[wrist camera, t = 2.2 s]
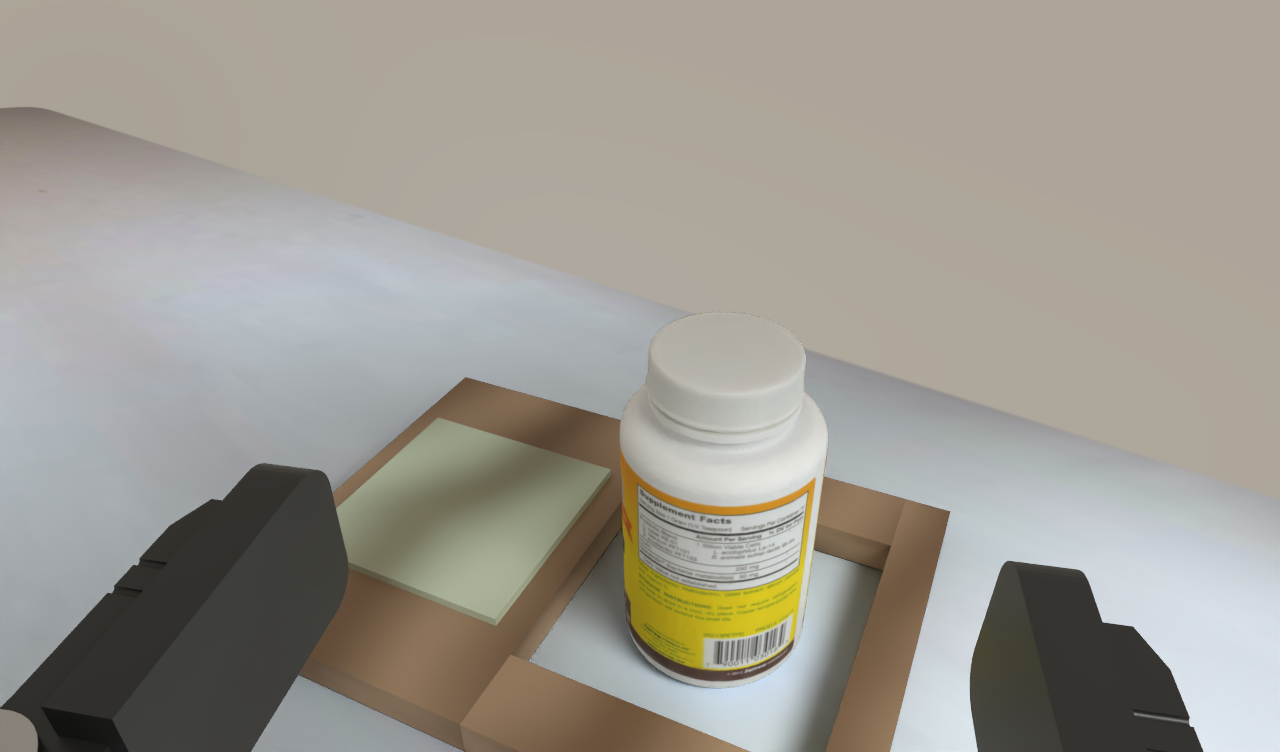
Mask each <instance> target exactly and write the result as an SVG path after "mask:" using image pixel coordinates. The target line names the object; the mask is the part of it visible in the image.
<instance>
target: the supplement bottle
mask: <svg viewBox="0 0 1280 752" xmlns="http://www.w3.org/2000/svg"><path fill="white" fill-rule="evenodd" d="M805 367H806V356H805V351H804V348H803V346H802V344H801V342H800V341H799V339H798V338H797V337H796V336H795V335H794V334H793V333H792V332H790V331H789V330H788V329H786V328H784V327H783V326H781V325H779V324H777V323H775V322H773V321H770V320H767V319H764V318H761V317H758V316H754V315H749V314H743V313H735V312H709V313H701V314H695V315H691V316H687V317H684V318H681V319H678V320H676V321H673V322H671V323H670V324H668V325H667V326H665V327H663V328H662V329H661V330H660V331H658V333H657V334H656V335H655V336H654V338H653V340H652V341H651V344H650V348H649V360H648V374H647V377H646V384H645V385H643V386H642V387H641V388H640V389H639V390H638V391H637V392H636V393H635V394H634V395H633V396H632V397H631V399H630V400H629V402H628V403H627V405H626V407H625V409H624V411H623V414H622V417H621V422H620V469H621V496H622V524H623V551H624V584H625V608H626V619H627V624H628V628H629V632H630V634H631V637H632V639H633V641H634V643H635V644H636V646H637V648H638V649H639V650H640V652H641V653H642V654H643V655H644V657H645V658H646V659H647V660H648V661H649V662H650V663H652V664H653V665H654V666H655V667H656V668H658V669H659V670H661V671H662V672H664V673H665V674H667V675H669V676H671V677H673V678H675V679H677V680H680V681H682V682H685V683H688V684H692V685H695V686H701V687H708V688H731V687H737V686H742V685H746V684H749V683H752V682H755V681H757V680H760V679H762V678H764V677H766V676H767V675H769V674H771V673H772V672H774V671H775V670H776V669H778V668H779V667H780V666H781V665H782V664H783V663H784V662H785V661H786V660H787V659H788V657H789V656H790V655H791V653H792V652H793V650H794V648H795V647H796V645H797V643H798V640H799V638H800V634H801V631H802V626H803V620H804V613H805V608H806V599H807V592H808V585H809V578H810V571H811V564H812V557H813V550H814V542H815V535H816V527H817V520H818V513H819V506H820V499H821V492H822V485H823V479H824V471H825V465H826V458H827V449H828V430H827V425H826V422H825V419H824V416H823V414H822V412H821V410H820V409H819V407H818V405H817V404H816V402H815V401H814V400H813V399H812V398H811V397H810V396H809V395H808V394H807V393H806V392H805V384H804V375H805Z"/></svg>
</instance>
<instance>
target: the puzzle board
mask: <svg viewBox="0 0 1280 752" xmlns="http://www.w3.org/2000/svg"><path fill="white" fill-rule="evenodd" d="M620 422H621V420H618V419H614V418H611V417H607V416H603V415H600V414H596V413H593V412H589V411H585V410H582V409H578V408H575V407H571V406H567V405H564V404H560V403H557V402H553V401H549V400H546V399H542V398H539V397H535V396H531V395H528V394H524V393H521V392H517V391H513V390H510V389H506V388H502V387H499V386H495V385H492V384H488V383H484V382H481V381H477V380H474V379H470V378H464V379H463V380H462V381H461V382H460V383H459V384H457V385H456V386H455V387H454V388H453V389H452V390H451V391H449V392H448V393H447V394H446V395H445V396H444V397H443V398H441V399H440V400H439V401H438V402H437V403H436V404H435V405H433V406H432V407H431V408H430V409H429V410H428V411H426V412H425V413H424V414H423V415H422V416H421V417H420V418H418V419H417V420H416V421H415V422H414V423H413V424H412V425H410V426H409V427H408V428H407V429H406V430H405V431H404V432H402V433H401V434H400V435H399V436H398V437H397V438H395V439H394V440H393V441H392V442H391V443H390V444H389V445H387V446H386V447H385V448H384V449H383V450H382V451H381V452H379V453H378V454H377V455H376V456H375V457H374V458H373V459H371V460H370V461H369V462H368V463H367V464H366V465H365V466H363V467H362V468H361V469H360V470H359V471H358V472H356V473H355V474H354V475H353V476H352V477H351V478H350V479H348V480H347V481H346V482H345V483H344V484H343V485H342V486H340V487H339V488H338V489H337V490H336V491H335V492H334V493H332V494H333V498H334V502H335V507H336V511H337V515H338V519H339V523H340V528H341V532H342V536H343V540H344V544H345V548H346V553H347V557H348V565H349V572H348V581H347V587H346V590H345V594H344V597H343V600H342V602H341V605H340V607H339V609H338V610H337V612H336V614H335V616H334V617H333V619H332V620H331V622H330V624H329V625H328V627H327V629H326V630H325V632H324V633H323V635H322V637H321V638H320V640H319V642H318V643H317V645H316V646H315V648H314V650H313V651H312V653H311V655H310V656H309V658H308V659H307V661H306V663H305V664H304V666H303V668H302V669H301V671H300V672H299V675H301V676H303V677H305V678H307V679H310V680H312V681H314V682H316V683H318V684H320V685H323V686H325V687H327V688H329V689H331V690H333V691H336V692H338V693H340V694H342V695H344V696H346V697H349V698H351V699H353V700H355V701H357V702H359V703H361V704H364V705H366V706H368V707H370V708H372V709H374V710H377V711H379V712H381V713H383V714H385V715H387V716H390V717H392V718H394V719H396V720H398V721H400V722H403V723H405V724H407V725H409V726H411V727H413V728H416V729H418V730H420V731H422V732H424V733H426V734H429V735H431V736H433V737H435V738H437V739H439V740H442V741H444V742H446V743H448V744H450V745H452V746H455V747H457V748H459V749H461V750H463V751H465V752H750V751H747V750H745V749H742V748H740V747H737V746H735V745H732V744H730V743H727V742H725V741H723V740H720V739H718V738H715V737H713V736H710V735H708V734H705V733H703V732H700V731H698V730H695V729H693V728H690V727H688V726H685V725H683V724H681V723H678V722H676V721H673V720H671V719H668V718H666V717H663V716H661V715H658V714H656V713H653V712H651V711H648V710H646V709H644V708H641V707H639V706H636V705H634V704H631V703H629V702H626V701H624V700H621V699H619V698H616V697H614V696H611V695H609V694H607V693H604V692H602V691H599V690H597V689H594V688H592V687H589V686H587V685H584V684H582V683H579V682H577V681H574V680H572V679H569V678H567V677H565V676H562V675H560V674H557V673H555V672H552V671H550V670H547V669H545V668H542V667H540V666H537V665H535V664H532V663H530V662H528V661H529V659H530V658H531V656H532V655H533V654H534V652H535V651H536V649H537V648H538V646H539V645H540V643H541V642H542V641H543V639H544V638H545V636H546V635H547V633H548V632H549V631H550V629H551V628H552V626H553V625H554V623H555V622H556V621H557V619H558V618H559V616H560V615H561V613H562V612H563V611H564V609H565V608H566V606H567V605H568V603H569V602H570V600H571V599H572V598H573V596H574V595H575V593H576V592H577V590H578V589H579V588H580V586H581V585H582V583H583V582H584V580H585V579H586V578H587V576H588V575H589V573H590V572H591V570H592V569H593V568H594V566H595V565H596V563H597V562H598V560H599V559H600V557H601V556H602V555H603V553H604V552H605V550H606V549H607V547H608V546H609V545H610V543H611V542H612V540H613V539H614V537H615V536H616V535H617V533H618V532H619V530H620V529H621V527H622V526H623V524H622V496H621V469H620ZM949 514H950V511H946V510H943V509H939V508H935V507H932V506H928V505H925V504H921V503H917V502H914V501H910V500H907V499H903V498H899V497H896V496H892V495H889V494H885V493H881V492H878V491H874V490H870V489H867V488H863V487H860V486H856V485H852V484H849V483H845V482H842V481H838V480H834V479H831V478H827V477H824V479H823V485H822V492H821V499H820V506H819V513H818V520H817V527H816V535H815V542H814V550H818V551H821V552H824V553H827V554H830V555H834V556H837V557H840V558H843V559H847V560H850V561H853V562H856V563H860V564H863V565H866V566H869V567H873V568H876V569H879V570H882V571H883V573H882V576H881V579H880V582H879V585H878V588H877V592H876V595H875V598H874V601H873V604H872V607H871V610H870V614H869V617H868V620H867V623H866V626H865V629H864V632H863V635H862V639H861V642H860V645H859V648H858V651H857V654H856V657H855V660H854V664H853V667H852V670H851V673H850V676H849V679H848V682H847V685H846V689H845V692H844V695H843V698H842V701H841V704H840V707H839V711H838V714H837V717H836V720H835V723H834V726H833V729H832V732H831V736H830V739H829V742H828V745H827V748H826V751H825V752H890V749H891V745H892V741H893V737H894V733H895V729H896V725H897V721H898V717H899V713H900V709H901V705H902V701H903V697H904V693H905V689H906V685H907V681H908V677H909V673H910V669H911V665H912V661H913V657H914V653H915V649H916V645H917V641H918V637H919V633H920V630H921V626H922V622H923V618H924V614H925V610H926V606H927V602H928V598H929V594H930V590H931V586H932V582H933V578H934V574H935V570H936V566H937V562H938V558H939V554H940V550H941V546H942V542H943V538H944V534H945V530H946V526H947V522H948V518H949Z"/></svg>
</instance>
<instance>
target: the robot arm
mask: <svg viewBox="0 0 1280 752" xmlns="http://www.w3.org/2000/svg"><path fill="white" fill-rule="evenodd" d="M348 572H349V565H348V557H347V553H346V548H345V544H344V540H343V536H342V532H341V528H340V523H339V519H338V515H337V511H336V507H335V502H334V498H333V494H332V490H331V486H330V483H329V480H328V478H327V476H326V475H325V474H324V473H323V472H322V471H319V470H313V469H305V468H297V467H289V466H281V465H273V464H266V463H263V464H258V465H256V466H254V467H253V468H251V469H250V470H249V471H248V472H247V473H246V475H245V476H244V477H243V478H242V479H241V480H240V481H239V483H238V484H237V485H236V486H235V487H234V488H233V489H232V490H231V492H230V493H229V494H228V495H227V496H226V497H225V498H224V500H223V501H222V500H215V499H211V500H210V501H208V502H206V503H205V504H203V505H202V506H200V507H199V508H197V509H195V510H194V511H192V512H191V513H189V514H187V515H186V516H184V517H183V518H181V519H180V520H178V521H176V522H175V523H173V524H172V525H170V526H169V527H168V528H167V529H166V530H165V532H164V533H163V534H162V535H161V536H160V537H159V538H158V539H157V540H156V541H155V542H154V543H153V544H152V546H151V547H150V548H149V549H148V550H147V551H146V552H145V553H144V554H143V555H142V556H141V557H140V562H139V564H138V565H137V566H136V565H133V566H132V567H131V568H130V569H129V570H128V571H127V573H126V574H125V575H124V576H123V577H122V578H121V579H120V580H119V581H118V582H117V583H116V584H115V586H114V591H113V593H112V594H111V593H107V594H106V595H105V596H104V597H103V599H102V600H101V601H100V602H99V603H98V604H97V605H96V606H95V607H94V608H93V609H92V610H91V611H90V613H89V614H88V615H87V616H86V617H85V618H84V619H83V620H82V621H81V622H80V623H79V624H78V626H77V627H76V628H75V629H74V630H73V631H72V632H71V633H70V634H69V635H68V636H67V637H66V638H65V640H64V641H63V642H62V643H61V644H60V645H59V646H58V647H57V648H56V649H55V650H54V651H53V653H52V654H51V655H50V656H49V657H48V658H47V659H46V660H45V661H44V662H43V663H42V664H41V665H40V667H39V668H38V669H37V670H36V671H35V672H34V673H33V674H32V675H31V676H30V677H29V678H28V680H27V681H26V682H25V683H24V684H23V685H22V686H21V687H20V688H19V689H18V690H17V691H16V693H15V694H14V695H13V696H12V697H11V698H10V699H9V700H8V701H7V702H6V703H5V704H4V705H3V706H2V707H1V708H0V752H251V750H252V749H253V747H254V746H255V744H256V742H257V741H258V739H259V737H260V736H261V734H262V733H263V731H264V729H265V728H266V726H267V724H268V723H269V721H270V720H271V718H272V716H273V715H274V713H275V711H276V710H277V708H278V707H279V705H280V703H281V702H282V700H283V698H284V697H285V695H286V694H287V692H288V690H289V689H290V687H291V685H292V684H293V682H294V681H295V679H296V677H297V676H298V674H299V672H300V671H301V669H302V668H303V666H304V664H305V663H306V661H307V659H308V658H309V656H310V655H311V653H312V651H313V650H314V648H315V646H316V645H317V643H318V642H319V640H320V638H321V637H322V635H323V633H324V632H325V630H326V629H327V627H328V625H329V624H330V622H331V620H332V619H333V617H334V616H335V614H336V612H337V610H338V609H339V607H340V605H341V602H342V600H343V597H344V594H345V590H346V587H347V581H348ZM970 703H971V711H972V718H973V724H974V730H975V736H976V742H977V748H978V752H1203V749H1202V747H1201V744H1200V742H1199V740H1198V737H1197V735H1196V732H1195V730H1194V727H1190V725H1189V718H1190V717H1189V715H1188V712H1187V710H1186V707H1185V705H1184V702H1183V700H1182V697H1181V695H1180V692H1179V690H1178V688H1177V685H1176V683H1175V680H1174V678H1173V675H1172V673H1171V670H1170V669H1169V668H1168V667H1167V665H1166V664H1165V663H1164V662H1163V661H1162V660H1161V659H1160V657H1159V656H1158V655H1157V654H1156V653H1155V652H1154V650H1153V649H1152V648H1151V647H1150V646H1149V645H1148V644H1147V642H1146V641H1145V640H1144V639H1143V638H1142V637H1141V635H1140V634H1139V633H1138V632H1137V631H1136V630H1135V629H1134V627H1132V626H1125V625H1117V624H1110V623H1103V622H1102V620H1101V617H1100V614H1099V611H1098V608H1097V605H1096V602H1095V599H1094V596H1093V593H1092V590H1091V588H1090V585H1089V582H1088V580H1087V578H1086V576H1085V574H1084V573H1083V572H1082V571H1080V570H1076V569H1068V568H1060V567H1052V566H1045V565H1037V564H1029V563H1021V562H1013V561H1007V562H1006V563H1005V564H1004V565H1003V566H1002V568H1001V570H1000V573H999V576H998V579H997V582H996V585H995V588H994V591H993V594H992V597H991V600H990V603H989V607H988V610H987V613H986V616H985V619H984V622H983V625H982V628H981V631H980V634H979V637H978V640H977V643H976V646H975V650H974V653H973V658H972V664H971V673H970Z"/></svg>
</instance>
